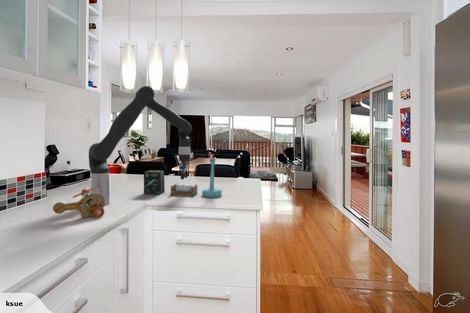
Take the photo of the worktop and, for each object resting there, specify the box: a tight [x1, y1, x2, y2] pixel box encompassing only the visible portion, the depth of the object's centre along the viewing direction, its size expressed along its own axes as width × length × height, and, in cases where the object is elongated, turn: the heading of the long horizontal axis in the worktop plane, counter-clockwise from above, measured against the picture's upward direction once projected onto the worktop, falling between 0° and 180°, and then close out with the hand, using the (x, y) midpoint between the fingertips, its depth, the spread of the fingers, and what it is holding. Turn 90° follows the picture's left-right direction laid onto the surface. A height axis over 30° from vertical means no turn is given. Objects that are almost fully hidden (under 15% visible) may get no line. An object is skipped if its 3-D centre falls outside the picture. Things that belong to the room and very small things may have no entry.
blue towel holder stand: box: [201, 156, 223, 198], centre depth 183 cm, size 12×12×25 cm
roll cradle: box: [170, 183, 198, 197], centre depth 187 cm, size 10×15×6 cm, turn 85°
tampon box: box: [143, 170, 166, 195], centre depth 189 cm, size 11×9×15 cm
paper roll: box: [176, 183, 193, 192], centre depth 187 cm, size 11×5×5 cm, turn 86°
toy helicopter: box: [52, 187, 106, 219], centre depth 129 cm, size 8×21×14 cm, turn 129°
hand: (184, 178), depth 186 cm, fingers open, 8 cm apart
